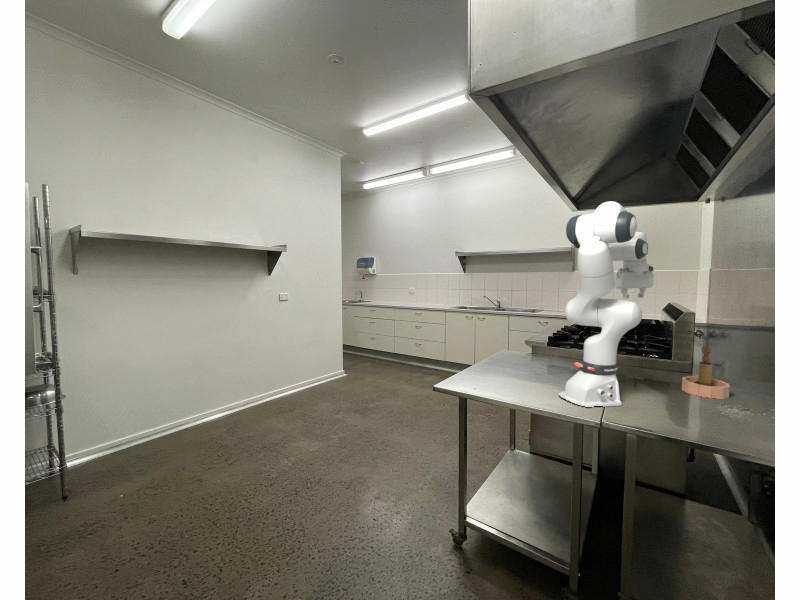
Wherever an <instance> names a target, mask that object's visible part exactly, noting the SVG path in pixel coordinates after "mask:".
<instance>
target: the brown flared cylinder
mask: <svg viewBox="0 0 800 600" xmlns="http://www.w3.org/2000/svg"><path fill="white" fill-rule="evenodd" d="M701 352H702V353H703V356H702V361H699V364H698V376H697V377H698V381H696V382H694V383H696V384H700V385H706V386H714V385H713V384H712V383H711V379H713V378H712V377H713V363H711V362H710V359H711V357H710V354H711V353H712V347H710V346H709V345H704V346H702V347H701Z"/></svg>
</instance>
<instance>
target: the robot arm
mask: <svg viewBox="0 0 800 600" xmlns="http://www.w3.org/2000/svg"><path fill="white" fill-rule="evenodd" d="M637 229H638V222H637V218H636V216H635V215H634V214H633V213H632V212H629V211H628V210H627V209H626V208H625V207H624V206H623V205H622V204H620V203H619V202H617V201H613V200H612V201H610V200H609V201H604V202H601V203H600V205H598V206H597V207H596V209H595V210H594V212H593V213H592V212H591V213H588V214H578V215H575V216H573V217H570V219H569V220H568V221H567V223H566V229H565V235H566V238H567V239H568V241H569V242H570V243H571V244H572V245H573V247H574V248H575V249H577V265H576V266H577V273H578V279H579V281H578V282H579V290H578V293H577V295H576V296H575V297H573V298H572V299H570V300H568V302H567V303H566V305H565V307H564V315H565V318H566V319H567V321H568V322H569V323H573V324H575V325H579V326H586V327H596V328H597V327H599V328H601V331H600V333H597V334H593V335H591V336H589V337H588V338H586V339H585V340H584V343H583V359H582V361H581V362H578V361H576V362H575V363H574V364H573V365H574V367H575V368H579V370H578V371H577V372H575V373H574V374H573V375H572V377H569V379H568V380H567V381H566V382H565V387H564V391H561V392H558V394H559V395H560V396H561V397H563V398H565V399H566V400H569V401H571V402H573V403H575V404H578V405H581V406H585V407H592V408H595V407H594V406H603V407H604V408H605V407H619V406H620V407H621V406H622V405H623V404H622V401H621V397H620V386H619V381H618V377H617V374H618V369H619V368H618V363H617V355H618V347H619V344H620V341H621V339H622V337H623V336H624V335H625V334H626V333H627V332H628V331H630V330H632V329H634V328H635V327H637V326H638V325H639V324H640V323H641V321H642V317H643V311H642V309H641V306H640V305H639V304H638V303H637V302H635V301H631V300H626V299H629V298H630V294H628V289H639V293H637V298H638V299H643V298H644V297H645V296H644V295H645V293H646V291H647V289H649V288H652V287H653V286H654V281H655V280H654V277H655V275H654V272H655V267H654V266H652V264H651V265H650V264H648V260H647V255H648V253H649V244H648V239H647V233H646V232H644V231H637ZM619 261H621V262H622V267H620V268H619V269H618V270H617V272H616V274H615V272H614V264H613V262H619ZM614 289H617V290H618V289H619V290H620V292H621V294H622V299H621V298H619V299H618V298H617V299H616V298H615V299H614V298H602V297H605V296H607V295H608V294H610V293H611V292H612V291H613V290H614ZM558 394H557V395H558ZM581 406H580V407H581ZM585 407H584V408H585ZM603 407H602V408H603Z"/></svg>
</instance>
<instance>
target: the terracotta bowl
mask: <svg viewBox="0 0 800 600" xmlns="http://www.w3.org/2000/svg"><path fill="white" fill-rule="evenodd" d="M681 381H682V382H681V391H683V392H685V393H687V394H688V395H689V394H690V395H693V396H696V395H697V396H696V397H700V396H702V398H706V397H708V398H707V399H712V398H716V399H717V400H725V399H730V392H731V391H730V389H731V386H730V383H727V382H725V381H723V380H721V379H720V380H719V379H715V378H712V379H711V383H712V384H713V385H714V386H706V385H700V384H696V383H694V382H696V381H698V376H695V375H687V376H683V377H682V379H681Z"/></svg>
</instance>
